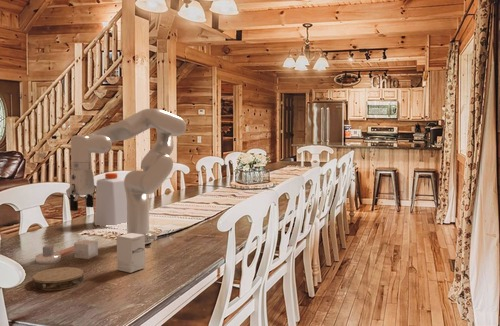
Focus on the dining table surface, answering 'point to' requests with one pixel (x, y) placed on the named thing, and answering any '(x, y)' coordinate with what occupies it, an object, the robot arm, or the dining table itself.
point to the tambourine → (58, 278)
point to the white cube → (86, 249)
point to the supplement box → (130, 252)
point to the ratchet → (52, 255)
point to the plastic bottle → (110, 201)
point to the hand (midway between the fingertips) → (82, 208)
